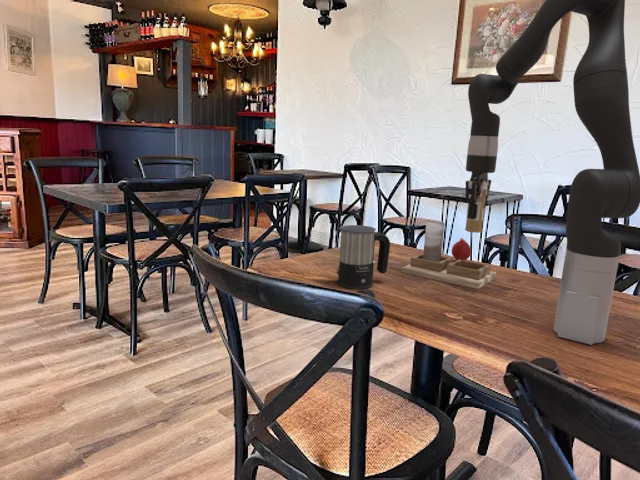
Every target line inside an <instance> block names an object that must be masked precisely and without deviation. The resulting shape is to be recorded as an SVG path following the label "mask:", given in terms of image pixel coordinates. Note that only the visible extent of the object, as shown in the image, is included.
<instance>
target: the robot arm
mask: <svg viewBox="0 0 640 480" xmlns="http://www.w3.org/2000/svg"><path fill="white" fill-rule="evenodd" d="M625 6H626V0H545V1H544V2H543V3H542V5H541V6H540V8H539V9H538V11H537V12H536V13H535V15H534V17H533V19H532V20H531V21H530V22H529V24H528V25H527V27H526V28H525V30H524V31H523V32H522V33H521V34H520V36H518V38H517V39H516V40H515V42H514V43H512V44H511V45H510V47H508V49H507V50H506V51H505V52H504V53H503V54H502V55H501V56H500V58H499V59H498V60H497V62H496V65H495V71H496V73H497V74H487V73H478V74H476V75H475V76H474V77H473V78H472V79H471V81H470V82H469V85H468V91H467V98H468V103H469V110H470V116H471V125H470V126H471V127H470V137H469V140H468V143H467V144H468V145H467V155H466V162H465V163H466V164H465V170H466V171H467V172H471V176H470V178H469V180H466V181H465V203H467V205H468V204H469V207H468V206H467V208H468V216H467V215H466V218H467V217H468V218H469V219H476V216H477V208H478V202H479V198H480V197H481V196H482V192H483V186H485V183H487V190H486V196H485V202H487V201H488V200H489V194H490V190H491V185H492V179H489V174H494V173H495V172H496V167H497V159H498V152H499V151H498V150H499V133H500V125H501V124H500V123H501V117H500V115H498V114H497V113H494V112H492V111H491V109H490V106H489V105H490V104H491V105H492V104H493V105H498V104H502V103H503V102H505V101H506V100H508V99H509V98H510V97H511V95H512V94H513V92H514V91H515V90H516V87H517V85H518V84H519V82H520V80H521V79H522V77H524V76H525V75H526V74H527V72H529V71H530V70H531V69H532V68H533V67H534V66H535V65H536V64H537V63H538V62H539V60H540V59H541V57H543V54H544V52H545V50H546V48H547V44H548V43H549V42H548V41H549V39H550V34H551V32H552V31H553V29H554V27H555V26H556V25H557V23H558V22H559V21H560V20H562V19H563V18H564V17H565V16H567V14H569V13H570V12H572V13H576V14H579V15H583V16H585V17H586V20H587V23H588V25H587V26H588V33H589V34H588V44H587V47H586V49H585V52H584V53H583V55H582V57H581V59H580V61H579V62H578V64H577V66H576V69H575V71H574V74H573V79H572V80H573V81H572V82H573V85H572V86H573V96H574V97H573V98H574V107H575V112H576V113H577V116H578V118H579V120H580V122H581V123H582V124H583V126H584V127H585V129H586V130H587V131H588V134H590V136H591V137H592V139H593V140H594V141H595V143H596V145H597V147H598V149H599V151H600V156H601V159H602V166H603V168H586V169H582V170H581V171H579V172H578V173H577V174H576V175H575V177H574V178H573V181H572V183H571V185H570V189H569V194H568V195H569V196H568V204H567V213H566V214H567V215H566V217H567V218H566V223H565V236H566V248H565V255H564V260H563V266H562V271H561V273H562V274H561V279H560V286H559V291H558V292H559V293H558V298H557V299H558V300H557V304H556V311H555V319H554V324H553V331H554V332H555V333H556V334H557V337H559V338H562V339H566V340H570V341H575V342H579V343H583V344H587V345H591V346H593V345H594V344H599V343H603V342H605V339H606V334H607V328H608V324H609V323H608V322H609V317H610V311H611V305H612V299H613V295H614V291H615V290H614V289H615V283H616V278H617V272H618V267H619V261H620V255H621V250H622V243H621V240H619V239H618V238H616V237H614V236H611V235H609V234H607V233H606V232H604V230H603V228H602V221H603V220H602V219H627V218H629V217H631V216H633V215H634V214H636V212H637V211H638V209H639V207H640V169H639V164H638V158H637V155H636V149H635V144H634V138H633V131H632V122H631V113H630V100H629V99H630V98H629V97H630V96H629V95H630V94H629V93H630V92H629V91H630V90H629V82H628V81H629V79H628V70H627V63H626V62H627V61H626V47H625V46H626V45H625V11H626V10H625V8H626V7H625ZM480 184H481V185H480ZM476 192H479V193H476ZM472 196H473V198H472Z"/></svg>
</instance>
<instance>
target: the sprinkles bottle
mask: <svg viewBox="0 0 640 480" xmlns="http://www.w3.org/2000/svg"><path fill="white" fill-rule="evenodd" d="M480 185H481V184H480ZM486 190H487V183H485V186H483V192H482V196H481V197H480V198H479V202H478V208H477V216H476V219H469V218H468V217H467V216H468V207H469V204H468V203H467V209H466V223H465V229H464V230H465V231H466V232H469V233H473V234H474V233H481V232H483V225H484V224H483V222H484V216H485V215H484V214H485V204H486V201H485V196H486ZM476 193H479V192H476ZM472 198H473V196H472Z"/></svg>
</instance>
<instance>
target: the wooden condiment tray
mask: <svg viewBox="0 0 640 480" xmlns="http://www.w3.org/2000/svg"><path fill="white" fill-rule="evenodd" d="M444 231H445V222H443V221H440V220H427V221H425V234H424V242H423V243H424V244H423V252H422V253H420V254H418V255H414V256H412V257H410V263H409V264H407V265H405V266H402V267H401V273H403V274H408V275H412V276H416V277H421V278H426V279H431V280H435V281H439V282H444V283H448V284H454V285H458V286H461V287H467V288H471V289H476V290H480V289H481V288H482V287H484V286H485V285H487V284H488V283H490V282H491V281H493V280H494V279H496V276H497V272H496V271H495V272H494V271H491V265H490V264H485V263H480V262H476V261H469V260H460V259H459V260H455V261H453V258H454V257H450V256H449V257H447V256H443V255H442V250H443V249H442V247H443V239H444Z"/></svg>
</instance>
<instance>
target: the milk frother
mask: <svg viewBox="0 0 640 480" xmlns="http://www.w3.org/2000/svg"><path fill="white" fill-rule="evenodd" d="M339 229H340V243H339V244H340V245H339V263H338V267H337V273H338V276H337V277H338V279H337V281H336V283H337V284H338V286H341V287H343V288H347V289H352V290H353V289H354V290H355V289H356V290H359V289H360V290H362V289H367V288H368V289H369V288H371V287H372V286H373V285H374V283H373V277H374V265H375V263H374V262H375V260H374V259H375V255H374V249H375V244H376V243H375V241H378V243H379V247H378V257H377V265H376V270H377V271H378V273H380V274H383V275H384V274H385V273H386V272H387V270H388V263H389V257H390V250H391V241H390V238H389V237H388V236H387V235H386V234H384V233H382V232H378V231H376V229H377V228H375V227H372V226H369V225H368V226H367V225H360V224H359V225H358V224H357V225H356V224H351V225H350V224H348V225H342V226H340V227H339Z"/></svg>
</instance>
